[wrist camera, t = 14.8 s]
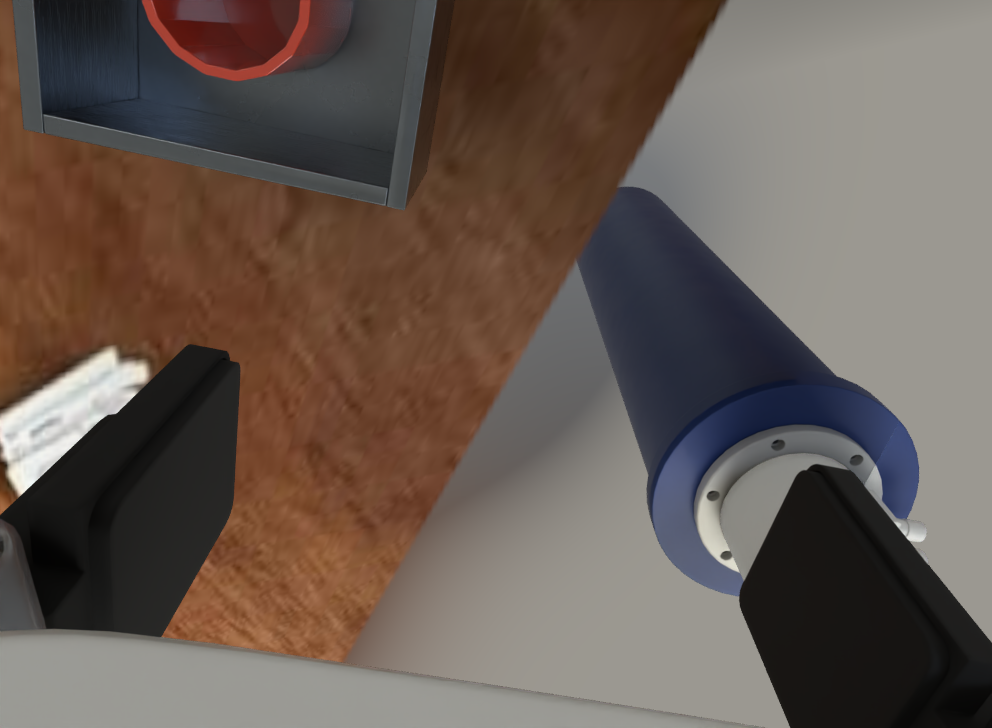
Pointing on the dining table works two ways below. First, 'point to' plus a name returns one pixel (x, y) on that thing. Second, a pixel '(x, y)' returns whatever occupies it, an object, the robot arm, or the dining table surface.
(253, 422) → the dining table surface
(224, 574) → the dining table surface
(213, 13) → the cup
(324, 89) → the dark open box
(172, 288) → the dining table surface
